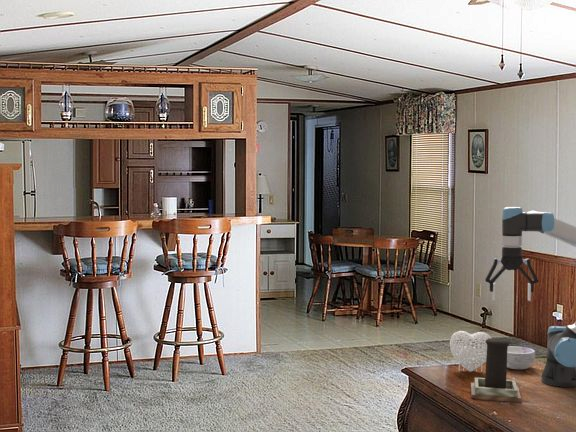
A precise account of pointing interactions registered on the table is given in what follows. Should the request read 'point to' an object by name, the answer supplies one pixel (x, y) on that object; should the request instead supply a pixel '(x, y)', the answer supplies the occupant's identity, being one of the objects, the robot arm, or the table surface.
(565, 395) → the table surface
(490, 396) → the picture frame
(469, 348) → the decorative heart
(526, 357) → the paper bowls
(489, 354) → the container
